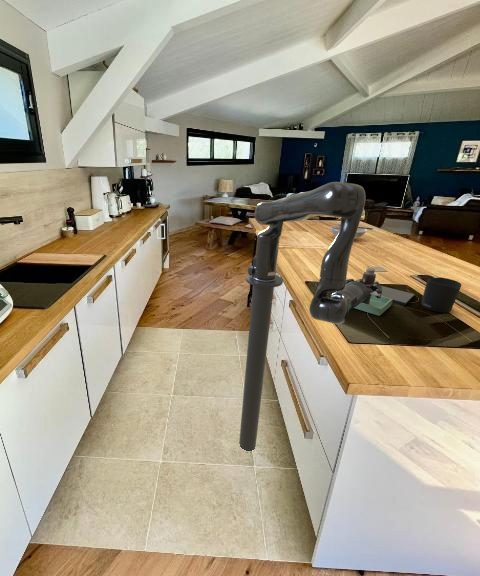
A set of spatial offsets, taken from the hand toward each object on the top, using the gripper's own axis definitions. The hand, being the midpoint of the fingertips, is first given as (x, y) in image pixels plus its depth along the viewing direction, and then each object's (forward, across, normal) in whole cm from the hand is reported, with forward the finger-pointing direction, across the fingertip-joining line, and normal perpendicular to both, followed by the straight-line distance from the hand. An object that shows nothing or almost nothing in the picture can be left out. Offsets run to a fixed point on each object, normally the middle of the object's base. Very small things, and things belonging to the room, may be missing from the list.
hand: (369, 282), depth 113 cm
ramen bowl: (+99, +47, +8) cm, 110 cm away
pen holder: (+13, -19, +8) cm, 24 cm away
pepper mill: (-3, 0, +7) cm, 8 cm away
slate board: (+13, -1, +8) cm, 15 cm away
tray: (-3, 0, +8) cm, 8 cm away
